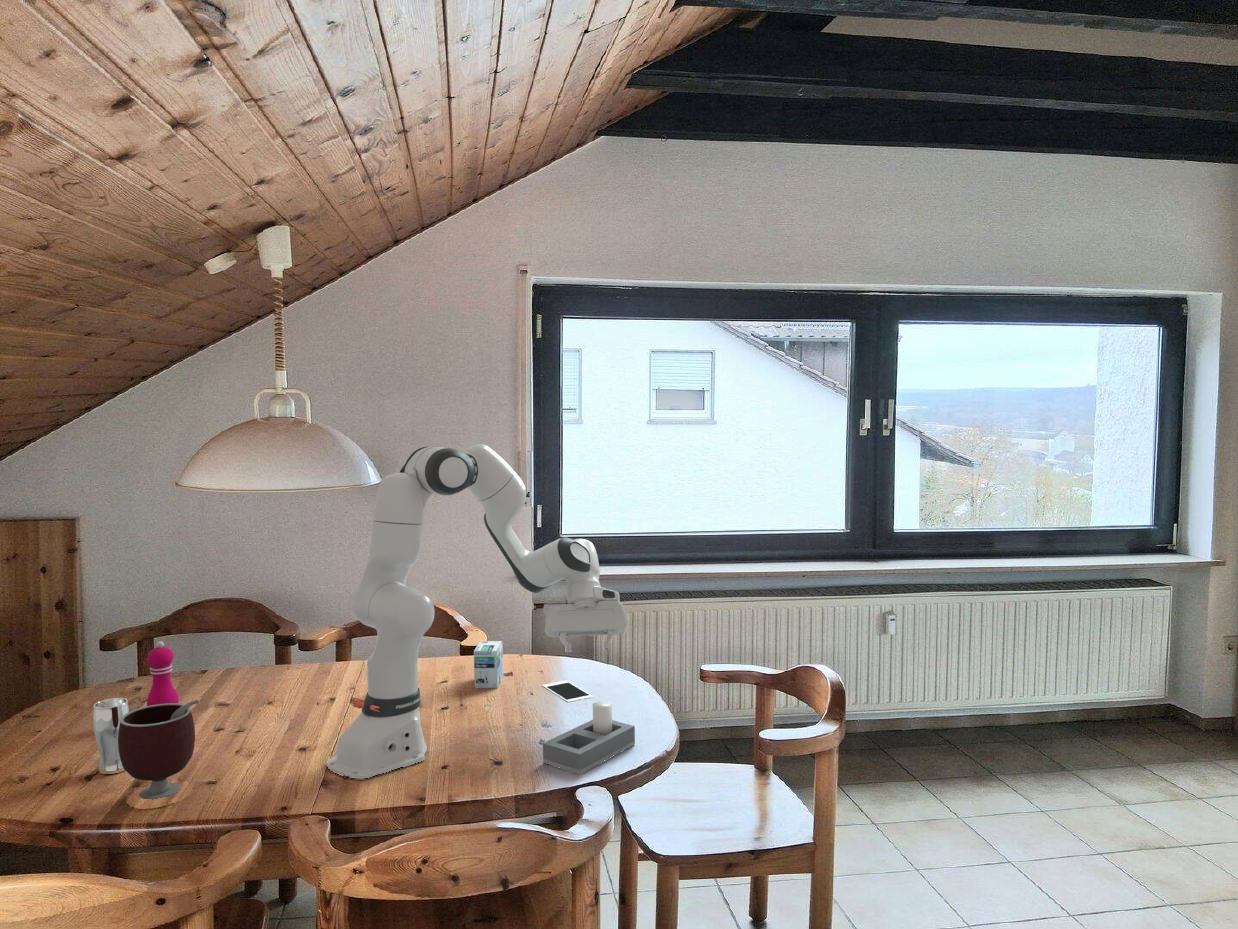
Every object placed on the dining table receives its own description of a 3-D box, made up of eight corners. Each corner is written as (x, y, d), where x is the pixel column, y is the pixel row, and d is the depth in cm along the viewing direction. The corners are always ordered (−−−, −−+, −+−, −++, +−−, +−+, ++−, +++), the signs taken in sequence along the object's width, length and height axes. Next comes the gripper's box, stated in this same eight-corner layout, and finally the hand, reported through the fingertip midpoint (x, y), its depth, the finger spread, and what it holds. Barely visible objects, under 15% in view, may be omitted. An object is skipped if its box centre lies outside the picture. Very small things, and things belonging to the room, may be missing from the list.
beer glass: (108, 763, 199) (104, 697, 197) (139, 763, 198) (135, 697, 197) (88, 776, 192) (85, 708, 190) (120, 776, 191) (116, 708, 190)
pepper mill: (151, 725, 221) (147, 646, 220) (144, 718, 227) (140, 641, 225) (183, 718, 226) (179, 641, 224) (174, 711, 231) (171, 635, 230)
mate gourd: (106, 812, 175) (101, 712, 173) (144, 781, 189) (139, 689, 187) (185, 811, 175) (180, 711, 173) (217, 780, 189) (212, 688, 187)
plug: (604, 748, 201) (603, 709, 201) (589, 743, 204) (588, 705, 203) (616, 742, 205) (615, 703, 204) (601, 737, 207) (600, 700, 207)
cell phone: (566, 682, 253) (566, 680, 253) (593, 698, 239) (593, 696, 239) (541, 687, 249) (541, 685, 249) (567, 704, 235) (567, 701, 235)
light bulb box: (498, 689, 246) (497, 650, 246) (473, 689, 247) (472, 651, 246) (503, 677, 257) (503, 640, 256) (480, 677, 257) (479, 640, 256)
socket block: (580, 775, 189) (579, 754, 189) (543, 763, 196) (542, 743, 195) (634, 745, 205) (634, 726, 205) (599, 735, 212) (598, 716, 211)
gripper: (543, 595, 220) (545, 646, 212) (625, 592, 222) (630, 643, 214) (542, 607, 225) (544, 658, 217) (623, 604, 227) (627, 654, 219)
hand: (587, 650), depth 215 cm, fingers open, 8 cm apart
